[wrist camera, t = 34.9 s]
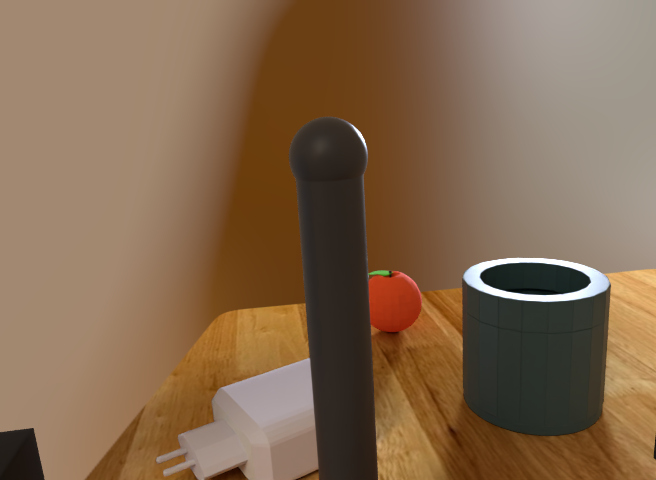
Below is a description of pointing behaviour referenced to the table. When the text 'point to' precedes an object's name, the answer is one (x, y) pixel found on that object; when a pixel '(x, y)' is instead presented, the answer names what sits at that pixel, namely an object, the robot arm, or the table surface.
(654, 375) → the table surface
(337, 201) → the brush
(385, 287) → the clementine
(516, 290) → the dark grey pipe sleeve
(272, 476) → the charger
